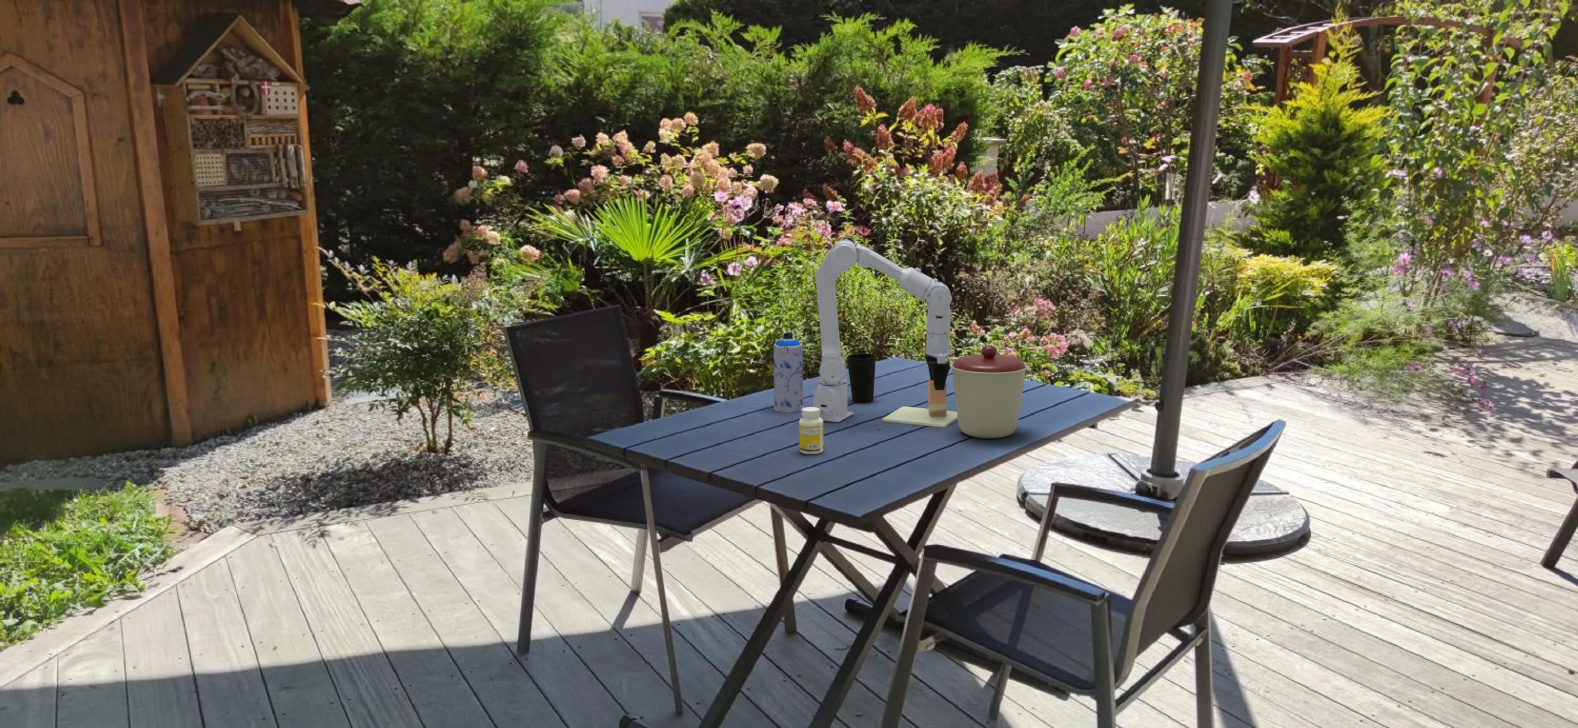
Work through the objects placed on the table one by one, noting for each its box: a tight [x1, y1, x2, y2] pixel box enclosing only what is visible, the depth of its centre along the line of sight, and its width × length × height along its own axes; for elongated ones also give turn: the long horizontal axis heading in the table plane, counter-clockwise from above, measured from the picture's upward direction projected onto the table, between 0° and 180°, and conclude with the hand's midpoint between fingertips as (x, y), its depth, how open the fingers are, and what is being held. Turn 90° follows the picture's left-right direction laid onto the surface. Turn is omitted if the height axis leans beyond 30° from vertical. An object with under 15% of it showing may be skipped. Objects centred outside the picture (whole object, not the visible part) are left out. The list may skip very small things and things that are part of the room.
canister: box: [950, 344, 1029, 439], centre depth 265 cm, size 18×18×21 cm
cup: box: [846, 352, 877, 404], centre depth 300 cm, size 8×8×12 cm
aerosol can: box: [773, 331, 805, 413], centre depth 292 cm, size 8×8×20 cm
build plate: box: [882, 405, 958, 428], centre depth 283 cm, size 14×16×1 cm
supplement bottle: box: [798, 406, 825, 455], centre depth 253 cm, size 5×5×10 cm
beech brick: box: [927, 400, 948, 417], centre depth 283 cm, size 4×4×3 cm
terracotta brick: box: [927, 379, 947, 404], centre depth 282 cm, size 4×4×5 cm
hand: (937, 386), depth 282 cm, fingers open, 7 cm apart
